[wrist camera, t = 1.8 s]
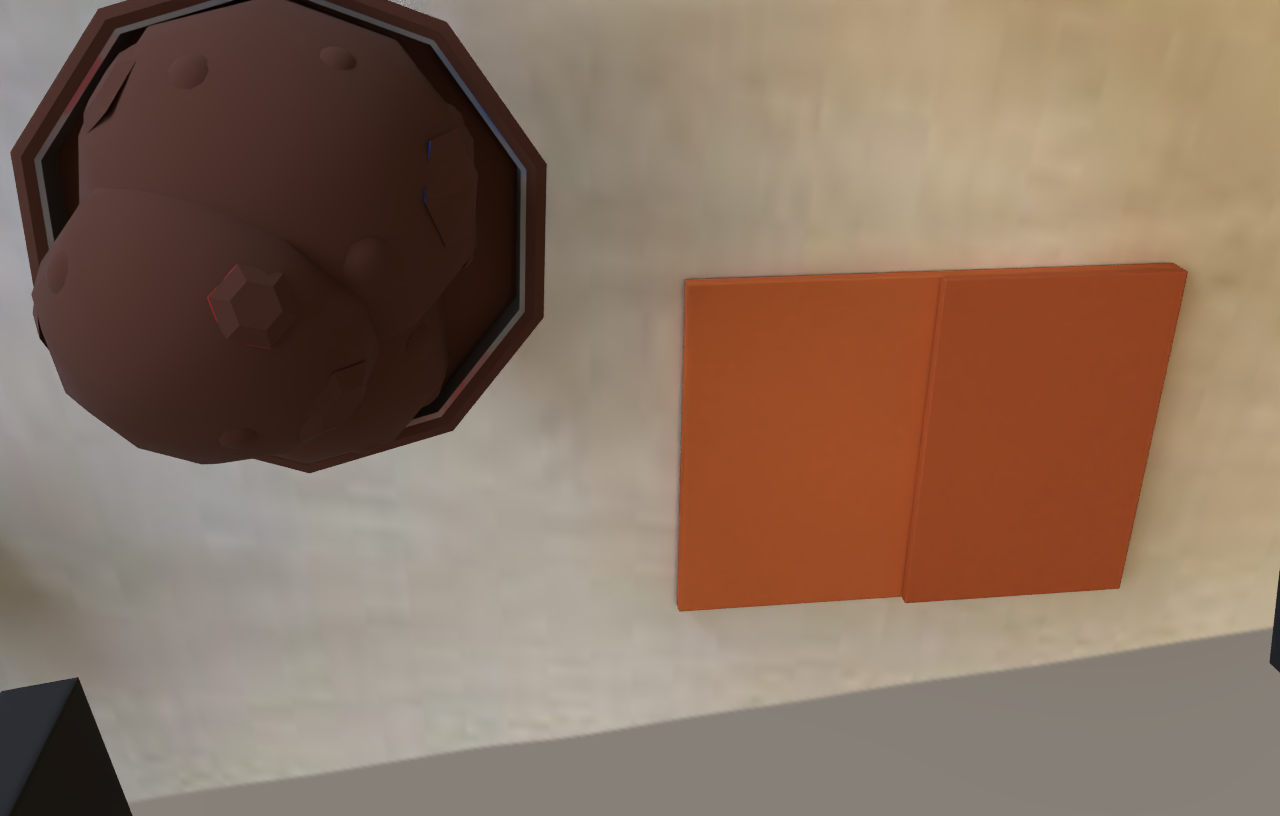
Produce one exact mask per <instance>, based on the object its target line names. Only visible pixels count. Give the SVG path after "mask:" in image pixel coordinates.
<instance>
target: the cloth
mask: <svg viewBox="0 0 1280 816" xmlns="http://www.w3.org/2000/svg"><path fill="white" fill-rule="evenodd" d="M1187 273H1188V272H1187V271H1186V270H1184V269H1183V268H1180V267H1179V266H1177V265H1176V264H1174V263H1161V264H1131V265H1102V266H1072V267H1043V268H1013V269H984V270H954V271H925V272H895V273H866V274H837V275H807V276H778V277H748V278H719V279H689V280H686V281H685V314H684V352H683V390H682V428H681V466H680V504H679V542H678V580H677V606H678V609H679V611H692V610H707V609H722V608H737V607H752V606H767V605H782V604H797V603H812V602H827V601H841V600H856V599H871V598H886V597H901V596H902V598H903V600H904V601H905V603H914V602H928V601H943V600H958V599H973V598H987V597H1002V596H1017V595H1032V594H1046V593H1061V592H1076V591H1091V590H1105V589H1119V588H1120V583H1121V578H1122V574H1123V569H1124V565H1125V560H1126V555H1127V551H1128V546H1129V541H1130V537H1131V532H1132V528H1133V523H1134V518H1135V514H1136V509H1137V504H1138V500H1139V495H1140V491H1141V486H1142V481H1143V477H1144V472H1145V467H1146V463H1147V458H1148V454H1149V449H1150V444H1151V440H1152V435H1153V430H1154V426H1155V421H1156V417H1157V412H1158V407H1159V403H1160V398H1161V394H1162V389H1163V384H1164V380H1165V375H1166V370H1167V366H1168V361H1169V357H1170V352H1171V347H1172V343H1173V338H1174V333H1175V329H1176V324H1177V320H1178V315H1179V310H1180V306H1181V301H1182V296H1183V292H1184V287H1185V283H1186V278H1187Z"/></svg>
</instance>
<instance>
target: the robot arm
mask: <svg viewBox="0 0 1280 816" xmlns="http://www.w3.org/2000/svg"><path fill="white" fill-rule="evenodd" d="M1270 664H1271V665H1273V666H1274V668H1275V669H1277V670H1278V671H1279V672H1280V572H1279V581H1278V590H1277V599H1276V608H1275V617H1274V627H1273V636H1272V646H1271V654H1270ZM0 816H132V813H131V811H130V808H129V806H128V803H127V801H126V798H125V795H124V793H123V790H122V788H121V785H120V783H119V780H118V778H117V775H116V772H115V770H114V767H113V765H112V762H111V760H110V757H109V755H108V752H107V750H106V747H105V744H104V742H103V739H102V737H101V734H100V732H99V729H98V727H97V724H96V722H95V719H94V716H93V714H92V711H91V709H90V706H89V704H88V701H87V699H86V696H85V693H84V691H83V688H82V686H81V683H80V681H79V678H78V677H77V678H72V679H66V680H61V681H55V682H50V683H44V684H39V685H33V686H28V687H22V688H17V689H11V690H6V691H2V692H1V693H0Z"/></svg>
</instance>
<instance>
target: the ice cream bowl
mask: <svg viewBox="0 0 1280 816" xmlns="http://www.w3.org/2000/svg"><path fill="white" fill-rule="evenodd" d="M10 153H11V159H12V164H13V170H14V176H15V182H16V188H17V193H18V199H19V205H20V211H21V217H22V222H23V228H24V234H25V240H26V246H27V251H28V257H29V263H30V269H31V275H32V280H33V286H34V288H33V292H32V298H33V301H34V307H33V316H34V319H35V323H36V327H37V330H38V334H39V338H40V339H41V341H42V342H43V343H44V344H45V346H46V347H47V348H48V349H49V351H50V354H51V356H52V359H53V361H54V364H55V367H56V369H57V372H58V374H59V377H60V380H61V382H62V385H63V387H64V390H65V393H67V394H68V395H69V396H70V397H71V398H73V399H74V400H75V401H76V402H77V403H78V404H80V405H81V406H82V407H83V408H84V409H86V410H87V411H88V412H89V413H91V414H92V415H94V416H95V417H96V418H98V419H99V420H100V421H102V422H103V423H105V424H106V425H107V426H109V427H110V428H111V429H113V430H114V431H116V432H117V433H118V434H120V435H121V436H122V437H124V438H125V439H127V440H128V441H129V442H131V443H132V444H133V445H135V446H136V447H138V448H140V449H144V450H148V451H152V452H156V453H160V454H164V455H168V456H172V457H175V458H179V459H183V460H187V461H191V462H195V463H199V464H219V463H226V462H233V461H239V460H246V459H257V460H261V461H265V462H268V463H272V464H276V465H280V466H284V467H288V468H291V469H295V470H299V471H303V472H307V473H312V472H315V471H319V470H322V469H326V468H329V467H332V466H336V465H339V464H342V463H346V462H349V461H352V460H356V459H359V458H363V457H366V456H369V455H373V454H376V453H379V452H383V451H386V450H390V449H393V448H396V447H400V446H403V445H406V444H410V443H413V442H416V441H420V440H423V439H427V438H430V437H433V436H437V435H440V434H443V433H447V432H450V431H453V430H454V429H455V428H456V426H457V425H458V424H459V423H460V421H461V420H462V419H463V418H464V416H465V415H466V414H467V413H468V411H469V410H470V409H471V408H472V406H473V405H474V404H475V403H476V401H477V400H478V399H479V398H480V396H481V395H482V394H483V393H484V391H485V390H486V389H487V388H488V386H489V385H490V384H491V383H492V381H493V380H494V379H495V378H496V376H497V375H498V374H499V373H500V371H501V370H502V369H503V368H504V366H505V365H506V364H507V363H508V361H509V360H510V359H511V358H512V356H513V355H514V354H515V353H516V351H517V350H518V349H519V348H520V346H521V345H522V344H523V343H524V341H525V340H526V339H527V338H528V336H529V335H530V334H531V333H532V331H533V330H534V329H535V328H536V326H537V325H538V324H539V323H540V321H541V320H542V319H543V317H544V267H545V217H546V167H547V164H546V163H545V161H544V160H543V158H542V157H541V156H540V154H539V153H538V151H537V150H536V148H535V147H534V146H533V144H532V143H531V141H530V140H529V138H528V137H527V136H526V134H525V133H524V131H523V130H522V128H521V127H520V126H519V124H518V123H517V121H516V120H515V119H514V117H513V116H512V114H511V113H510V111H509V110H508V109H507V107H506V106H505V104H504V103H503V101H502V100H501V99H500V97H499V96H498V94H497V93H496V91H495V90H494V89H493V87H492V86H491V84H490V83H489V82H488V80H487V79H486V77H485V76H484V74H483V73H482V72H481V70H480V69H479V67H478V66H477V64H476V63H475V62H474V60H473V59H472V57H471V56H470V54H469V53H468V52H467V50H466V49H465V47H464V46H463V45H462V43H461V42H460V40H459V39H458V37H457V36H456V35H455V33H454V32H453V30H452V29H451V27H450V26H449V25H448V23H447V22H445V21H442V20H439V19H437V18H434V17H431V16H429V15H426V14H423V13H421V12H418V11H415V10H412V9H410V8H407V7H404V6H402V5H399V4H396V3H394V2H391V1H388V0H127V1H123V2H120V3H117V4H113V5H110V6H107V7H103V8H100V9H98V10H97V12H96V14H95V15H94V17H93V18H92V20H91V22H90V23H89V25H88V27H87V28H86V30H85V31H84V33H83V35H82V36H81V38H80V40H79V41H78V43H77V45H76V46H75V48H74V49H73V51H72V53H71V54H70V56H69V58H68V59H67V61H66V62H65V64H64V66H63V67H62V69H61V71H60V72H59V74H58V75H57V77H56V79H55V80H54V82H53V84H52V85H51V87H50V89H49V90H48V92H47V93H46V95H45V97H44V98H43V100H42V102H41V103H40V105H39V106H38V108H37V110H36V111H35V113H34V115H33V116H32V118H31V119H30V121H29V123H28V124H27V126H26V128H25V129H24V131H23V132H22V134H21V136H20V137H19V139H18V141H17V142H16V144H15V146H14V147H13V149H12V150H11V152H10Z"/></svg>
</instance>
